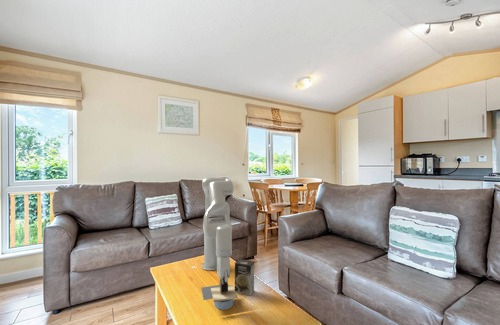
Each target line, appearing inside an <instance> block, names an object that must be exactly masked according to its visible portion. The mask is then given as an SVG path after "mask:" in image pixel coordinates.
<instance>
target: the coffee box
mask: <svg viewBox="0 0 500 325" xmlns="http://www.w3.org/2000/svg"><path fill="white" fill-rule="evenodd" d="M234 289H235V292H236V294H241V295H245V296H252V295H253V292H254V291H255V261H254V260H248V259H241V258H239V259H238V260H236V261H235V263H234Z"/></svg>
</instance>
